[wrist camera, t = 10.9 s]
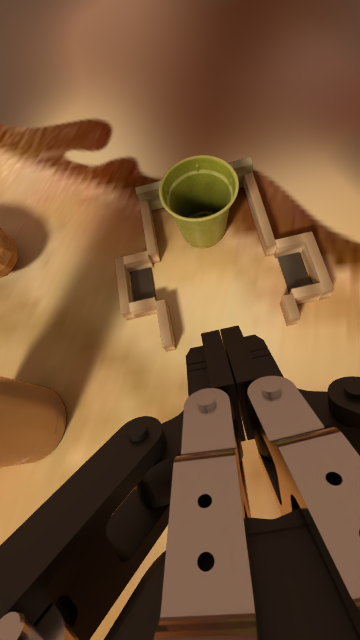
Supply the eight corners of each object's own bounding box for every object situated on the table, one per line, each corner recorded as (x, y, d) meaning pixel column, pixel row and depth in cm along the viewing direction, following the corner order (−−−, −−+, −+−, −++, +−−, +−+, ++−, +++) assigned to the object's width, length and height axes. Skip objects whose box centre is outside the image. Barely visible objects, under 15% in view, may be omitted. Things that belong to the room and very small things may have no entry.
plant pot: (234, 198, 46) (234, 149, 38) (240, 255, 43) (242, 214, 35) (171, 207, 47) (158, 161, 39) (172, 262, 44) (159, 224, 36)
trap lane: (131, 358, 40) (121, 351, 37) (114, 213, 49) (104, 195, 45) (335, 315, 38) (345, 303, 34) (280, 170, 46) (284, 147, 43)
